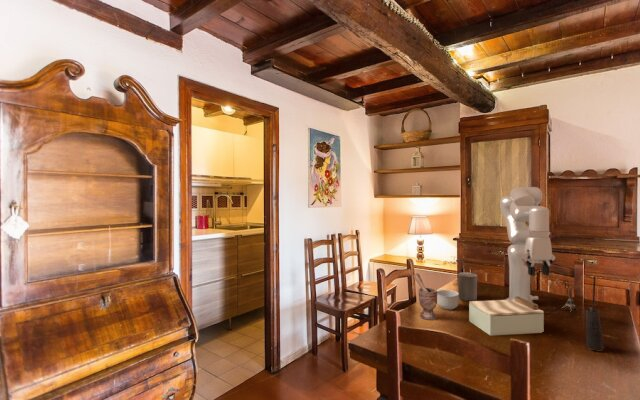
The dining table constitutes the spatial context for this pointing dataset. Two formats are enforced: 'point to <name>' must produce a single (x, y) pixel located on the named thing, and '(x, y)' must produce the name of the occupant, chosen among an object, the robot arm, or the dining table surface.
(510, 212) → the robot arm
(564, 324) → the dining table surface
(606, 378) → the dining table surface
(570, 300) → the eiffel tower figurine
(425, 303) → the mortar and pestle
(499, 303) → the lid
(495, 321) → the box
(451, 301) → the teacup
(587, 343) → the butter churn
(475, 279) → the pillar candle
